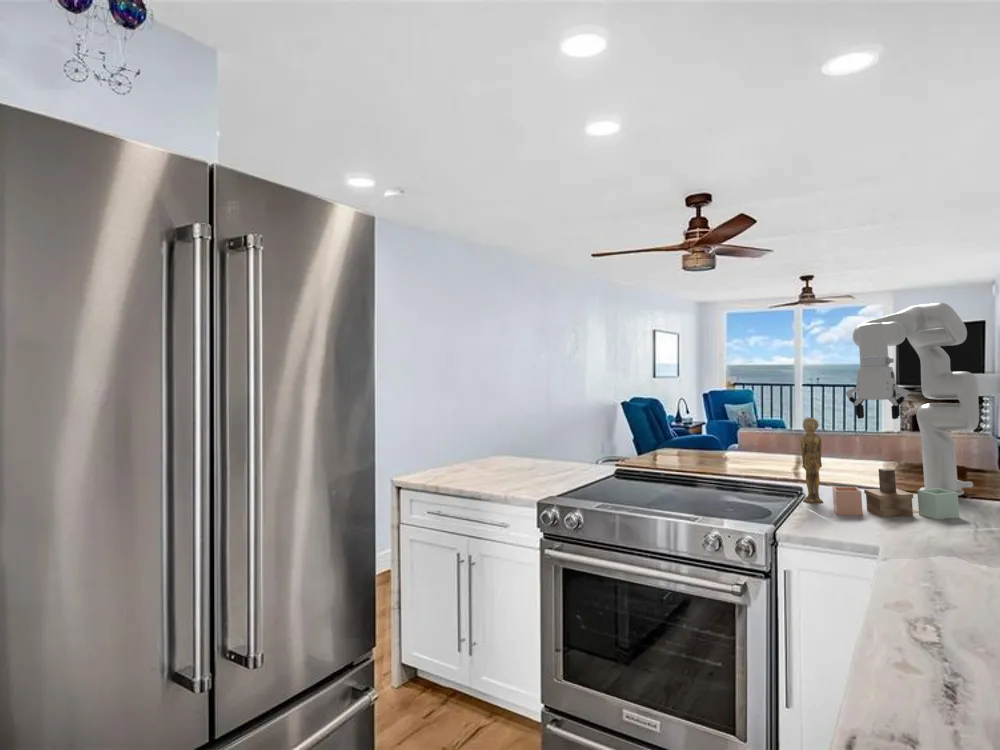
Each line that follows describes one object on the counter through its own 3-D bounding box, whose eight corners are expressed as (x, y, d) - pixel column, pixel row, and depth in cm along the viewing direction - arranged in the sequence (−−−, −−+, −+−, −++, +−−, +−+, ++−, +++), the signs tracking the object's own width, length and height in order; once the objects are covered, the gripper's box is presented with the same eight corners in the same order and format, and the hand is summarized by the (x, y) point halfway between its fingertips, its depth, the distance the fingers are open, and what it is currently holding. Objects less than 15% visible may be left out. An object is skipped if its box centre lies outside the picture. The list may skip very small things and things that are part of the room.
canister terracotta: (858, 511, 196) (856, 487, 196) (862, 517, 190) (861, 491, 190) (833, 511, 199) (832, 486, 199) (837, 516, 192) (835, 491, 192)
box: (896, 510, 194) (895, 492, 194) (913, 517, 185) (911, 498, 185) (867, 512, 195) (865, 493, 195) (881, 518, 186) (880, 499, 186)
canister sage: (940, 514, 187) (938, 488, 187) (959, 519, 180) (957, 492, 180) (919, 516, 186) (917, 490, 186) (937, 521, 179) (935, 494, 179)
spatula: (878, 505, 202) (878, 503, 202) (889, 504, 203) (888, 502, 203) (910, 515, 188) (910, 512, 188) (921, 514, 188) (921, 511, 188)
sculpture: (820, 501, 213) (814, 416, 213) (828, 505, 207) (822, 417, 207) (800, 502, 214) (794, 417, 214) (807, 506, 208) (801, 418, 208)
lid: (896, 491, 194) (894, 466, 194) (913, 498, 185) (911, 471, 185) (864, 493, 195) (862, 467, 195) (880, 499, 186) (878, 472, 186)
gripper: (910, 361, 184) (914, 417, 184) (849, 364, 197) (852, 417, 197) (901, 361, 179) (905, 420, 179) (839, 365, 193) (842, 419, 193)
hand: (877, 418), depth 188 cm, fingers open, 9 cm apart
